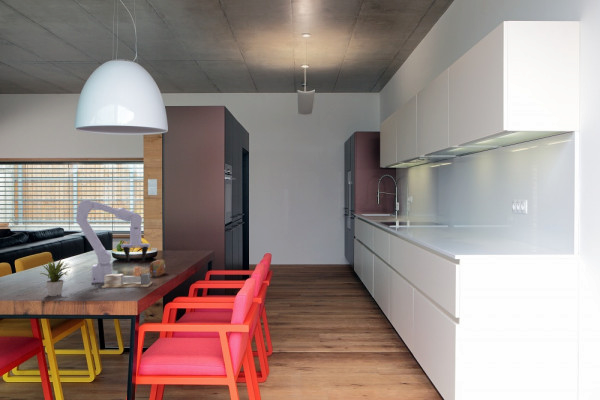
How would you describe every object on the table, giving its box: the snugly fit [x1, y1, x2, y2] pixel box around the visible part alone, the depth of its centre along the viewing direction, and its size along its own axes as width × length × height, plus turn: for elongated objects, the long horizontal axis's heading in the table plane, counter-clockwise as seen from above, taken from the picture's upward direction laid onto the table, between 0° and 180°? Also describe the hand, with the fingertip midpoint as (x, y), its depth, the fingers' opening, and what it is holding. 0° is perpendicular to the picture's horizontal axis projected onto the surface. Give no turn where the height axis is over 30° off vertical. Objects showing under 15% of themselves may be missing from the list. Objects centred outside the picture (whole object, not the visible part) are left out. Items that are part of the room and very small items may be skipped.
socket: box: [141, 272, 151, 285], centre depth 238 cm, size 4×6×5 cm, turn 7°
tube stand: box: [101, 273, 153, 289], centre depth 237 cm, size 22×10×5 cm, turn 97°
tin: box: [149, 259, 167, 277], centre depth 268 cm, size 15×3×8 cm, turn 168°
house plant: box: [39, 258, 71, 297], centre depth 213 cm, size 14×14×16 cm
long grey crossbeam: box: [122, 266, 142, 283], centre depth 237 cm, size 14×3×8 cm, turn 97°
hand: (135, 261), depth 253 cm, fingers open, 7 cm apart
